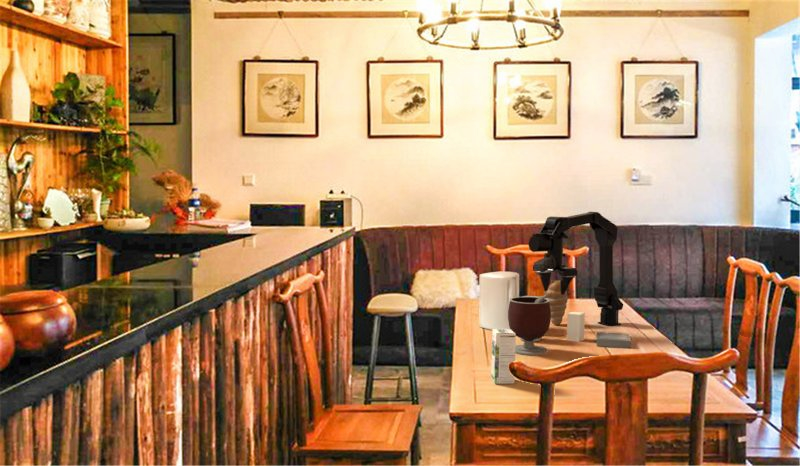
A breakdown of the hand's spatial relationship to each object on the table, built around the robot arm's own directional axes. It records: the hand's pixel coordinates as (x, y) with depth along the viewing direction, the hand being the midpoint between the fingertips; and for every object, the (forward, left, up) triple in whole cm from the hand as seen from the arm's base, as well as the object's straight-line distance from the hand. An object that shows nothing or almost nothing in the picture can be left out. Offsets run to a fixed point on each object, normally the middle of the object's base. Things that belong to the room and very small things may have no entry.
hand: (554, 292), depth 269 cm
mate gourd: (+27, +20, -15) cm, 36 cm away
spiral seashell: (-9, -9, -15) cm, 20 cm away
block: (+2, +14, -15) cm, 20 cm away
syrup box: (+56, +44, -15) cm, 73 cm away
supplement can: (+16, +6, -15) cm, 22 cm away
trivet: (-5, +25, -15) cm, 29 cm away
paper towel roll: (+14, -12, -15) cm, 24 cm away
